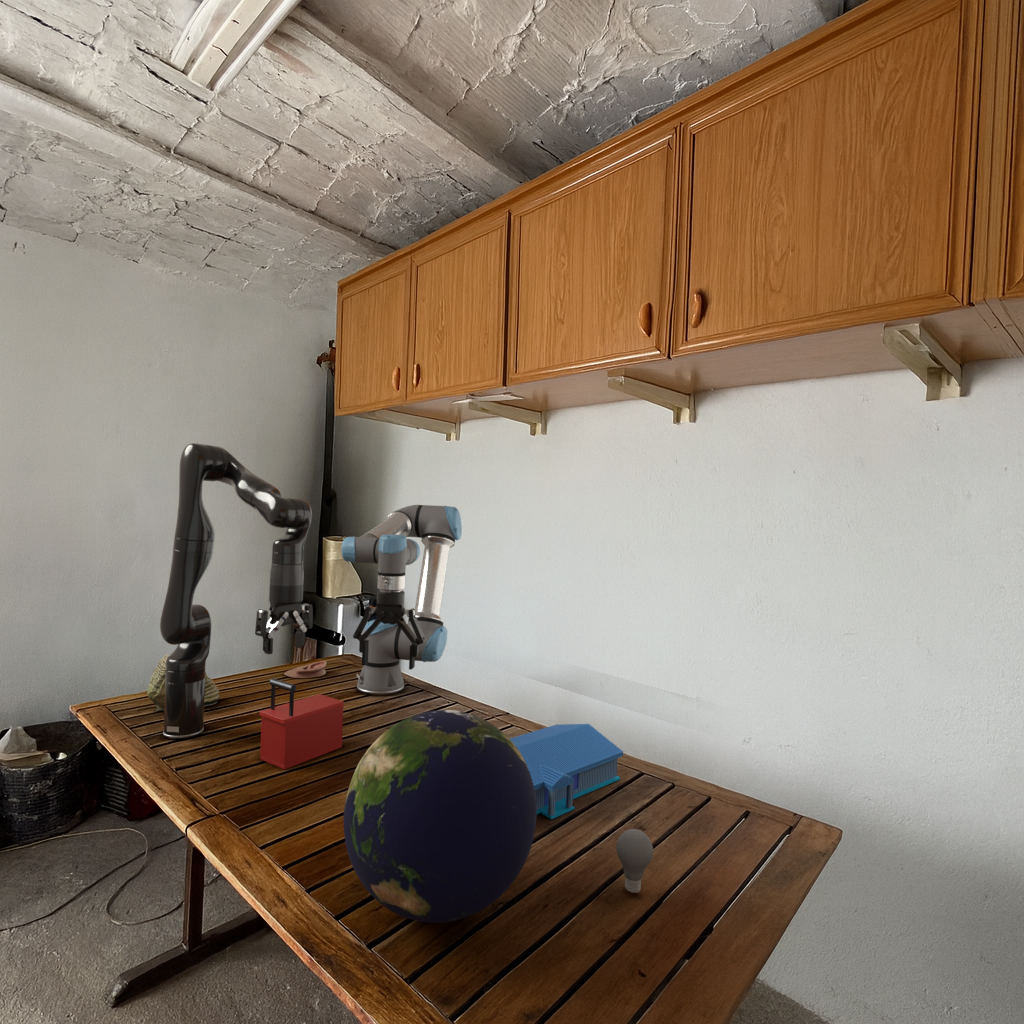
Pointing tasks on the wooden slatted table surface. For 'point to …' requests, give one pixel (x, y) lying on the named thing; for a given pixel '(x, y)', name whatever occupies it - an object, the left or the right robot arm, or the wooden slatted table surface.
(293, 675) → the anatomical model
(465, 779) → the globe
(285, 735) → the chest
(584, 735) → the model building
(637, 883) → the light bulb
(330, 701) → the lid
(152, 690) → the fossil
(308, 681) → the wooden slatted table surface
